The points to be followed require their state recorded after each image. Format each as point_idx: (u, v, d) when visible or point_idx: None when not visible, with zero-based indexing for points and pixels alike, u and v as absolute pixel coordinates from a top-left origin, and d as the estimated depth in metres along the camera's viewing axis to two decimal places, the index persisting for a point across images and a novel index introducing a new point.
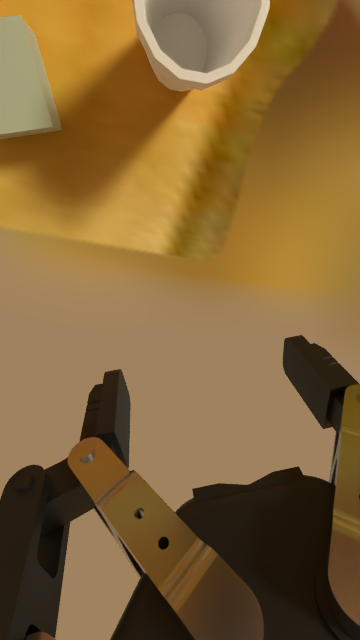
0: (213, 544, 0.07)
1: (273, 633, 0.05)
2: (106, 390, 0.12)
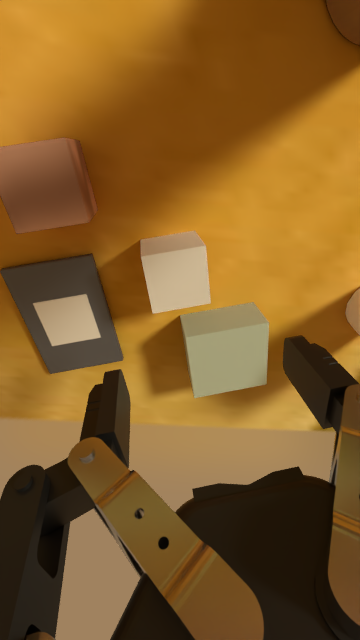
0: (213, 544, 0.07)
1: (273, 633, 0.05)
2: (106, 390, 0.12)
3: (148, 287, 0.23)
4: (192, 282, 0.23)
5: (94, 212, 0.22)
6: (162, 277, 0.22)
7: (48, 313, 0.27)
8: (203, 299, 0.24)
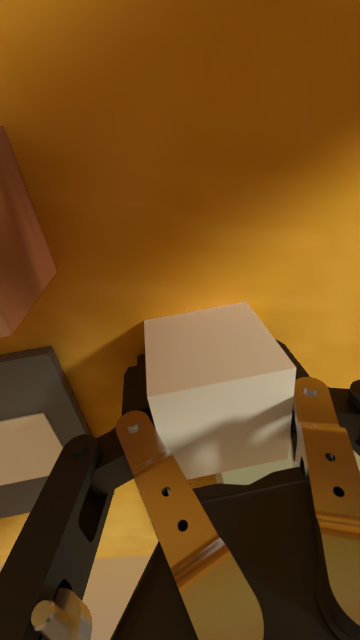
0: None
1: (273, 633, 0.05)
2: (141, 371, 0.12)
3: None
4: (256, 430, 0.11)
5: (42, 285, 0.10)
6: (194, 427, 0.10)
7: None
8: (274, 454, 0.12)
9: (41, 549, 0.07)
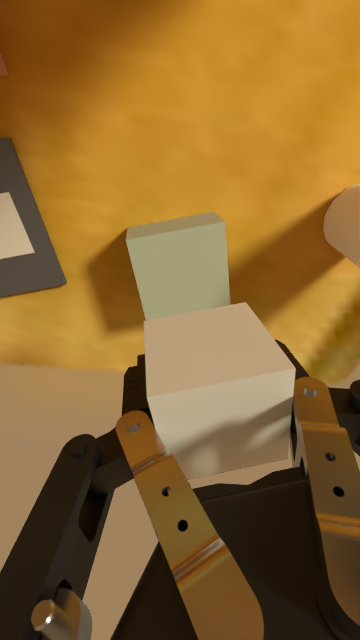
0: None
1: (273, 633, 0.05)
2: (141, 371, 0.12)
3: None
4: (256, 431, 0.11)
5: None
6: (194, 428, 0.10)
7: None
8: (274, 454, 0.12)
9: (41, 549, 0.07)
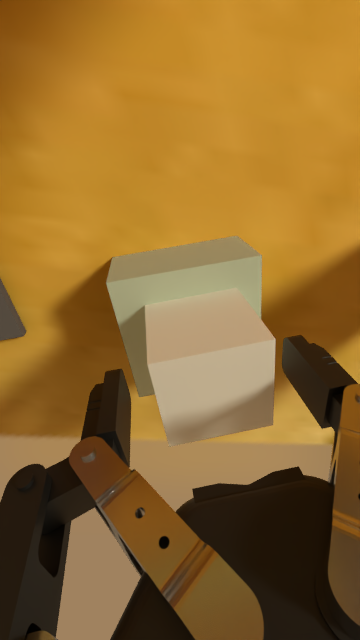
0: (213, 544, 0.07)
1: (273, 633, 0.05)
2: (107, 389, 0.12)
3: (162, 411, 0.12)
4: (244, 397, 0.12)
5: None
6: (188, 393, 0.12)
7: None
8: (261, 420, 0.13)
9: (0, 599, 0.06)
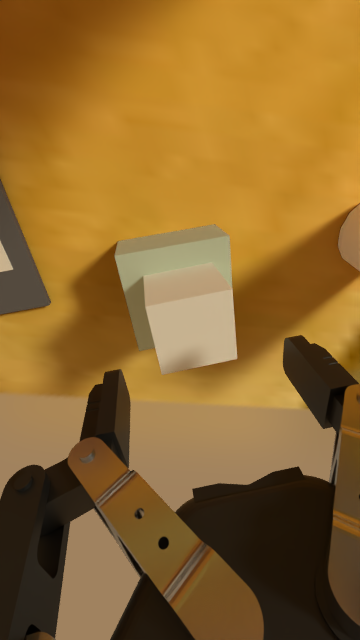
0: (213, 544, 0.07)
1: (273, 633, 0.05)
2: (106, 390, 0.12)
3: (156, 344, 0.17)
4: (214, 334, 0.17)
5: None
6: (174, 330, 0.17)
7: None
8: (228, 354, 0.18)
9: None
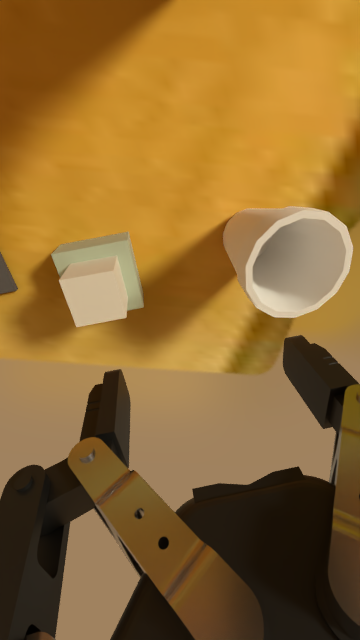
0: (213, 544, 0.07)
1: (273, 633, 0.05)
2: (106, 390, 0.12)
3: (69, 305, 0.27)
4: (107, 300, 0.27)
5: None
6: (80, 296, 0.27)
7: None
8: (119, 314, 0.28)
9: None
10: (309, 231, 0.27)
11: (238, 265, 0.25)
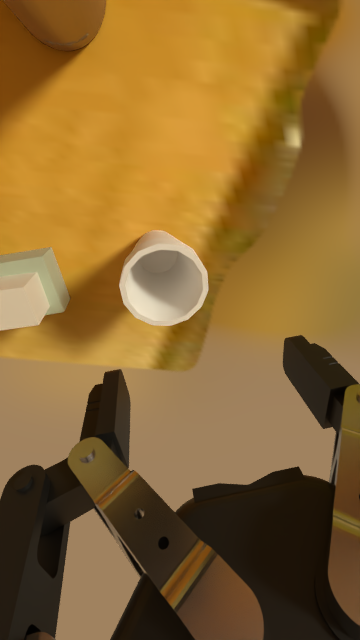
0: (213, 544, 0.07)
1: (273, 633, 0.05)
2: (106, 390, 0.12)
3: None
4: (20, 310, 0.33)
5: None
6: None
7: None
8: (32, 322, 0.34)
9: None
10: None
11: None
